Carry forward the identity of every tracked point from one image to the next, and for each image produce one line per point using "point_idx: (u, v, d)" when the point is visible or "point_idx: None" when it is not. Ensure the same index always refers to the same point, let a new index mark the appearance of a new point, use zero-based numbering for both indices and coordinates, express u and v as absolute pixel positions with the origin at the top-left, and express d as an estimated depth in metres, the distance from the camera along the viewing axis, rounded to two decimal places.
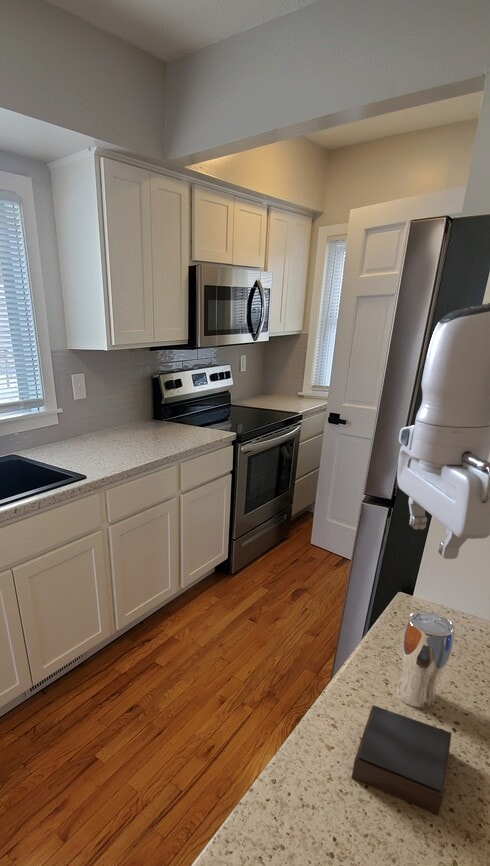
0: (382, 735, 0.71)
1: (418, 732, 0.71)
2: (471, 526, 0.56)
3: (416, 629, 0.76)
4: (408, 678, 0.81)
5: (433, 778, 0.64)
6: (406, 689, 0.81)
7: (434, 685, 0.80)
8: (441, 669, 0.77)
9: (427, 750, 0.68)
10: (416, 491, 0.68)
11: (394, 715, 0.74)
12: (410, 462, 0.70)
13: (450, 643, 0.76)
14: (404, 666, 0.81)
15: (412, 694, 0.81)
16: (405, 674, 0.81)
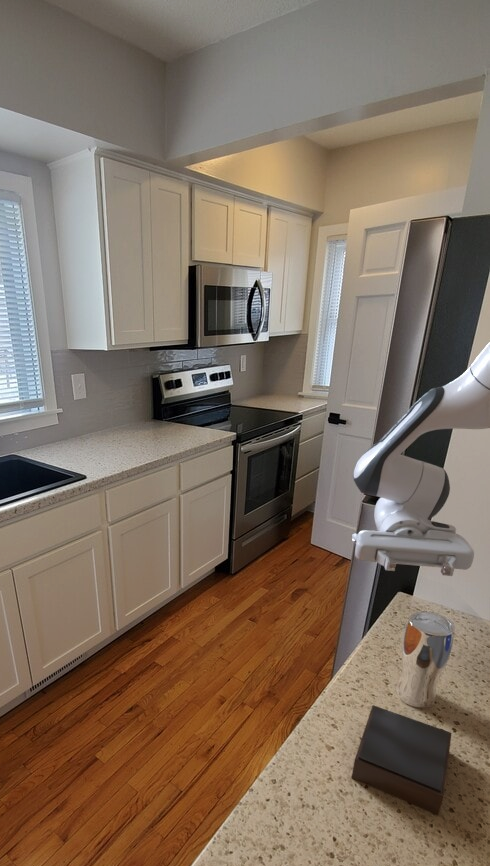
0: (382, 735, 0.71)
1: (418, 732, 0.71)
2: (355, 552, 0.95)
3: (416, 629, 0.76)
4: (408, 678, 0.81)
5: (433, 778, 0.64)
6: (406, 689, 0.81)
7: (434, 685, 0.80)
8: (441, 669, 0.77)
9: (427, 750, 0.68)
10: None
11: (394, 715, 0.74)
12: None
13: (450, 643, 0.76)
14: (404, 666, 0.81)
15: (412, 694, 0.81)
16: (405, 674, 0.81)
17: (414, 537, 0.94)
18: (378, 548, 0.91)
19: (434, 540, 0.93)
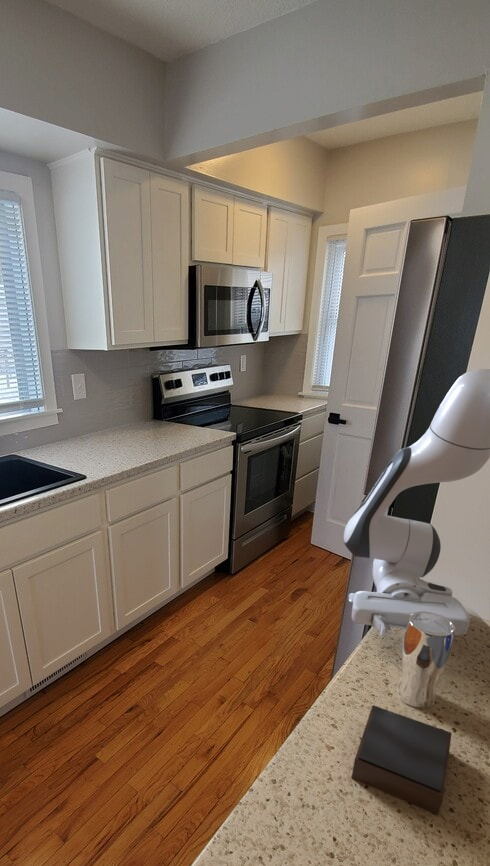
0: (382, 735, 0.71)
1: (418, 732, 0.71)
2: None
3: (416, 629, 0.76)
4: (408, 678, 0.81)
5: (433, 778, 0.64)
6: (406, 689, 0.81)
7: (434, 685, 0.80)
8: (441, 669, 0.77)
9: (427, 750, 0.68)
10: None
11: (394, 715, 0.74)
12: None
13: (450, 643, 0.76)
14: (404, 666, 0.81)
15: (412, 694, 0.81)
16: (405, 674, 0.81)
17: (410, 600, 0.95)
18: (374, 612, 0.92)
19: (431, 604, 0.94)
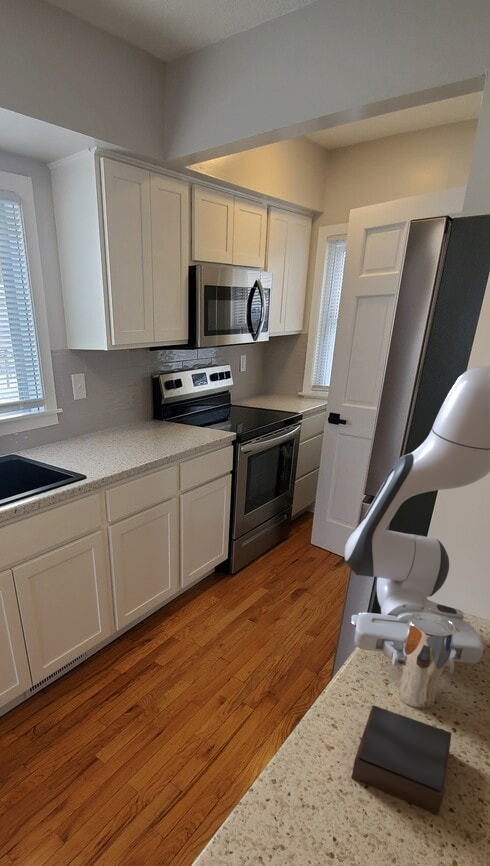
0: (382, 735, 0.71)
1: (418, 732, 0.71)
2: None
3: (416, 629, 0.76)
4: (408, 678, 0.81)
5: (433, 778, 0.64)
6: (406, 689, 0.81)
7: (434, 685, 0.80)
8: (441, 669, 0.77)
9: (427, 750, 0.68)
10: None
11: (394, 715, 0.74)
12: None
13: (450, 643, 0.75)
14: (404, 666, 0.81)
15: (412, 694, 0.81)
16: (405, 674, 0.81)
17: None
18: (379, 637, 0.85)
19: None
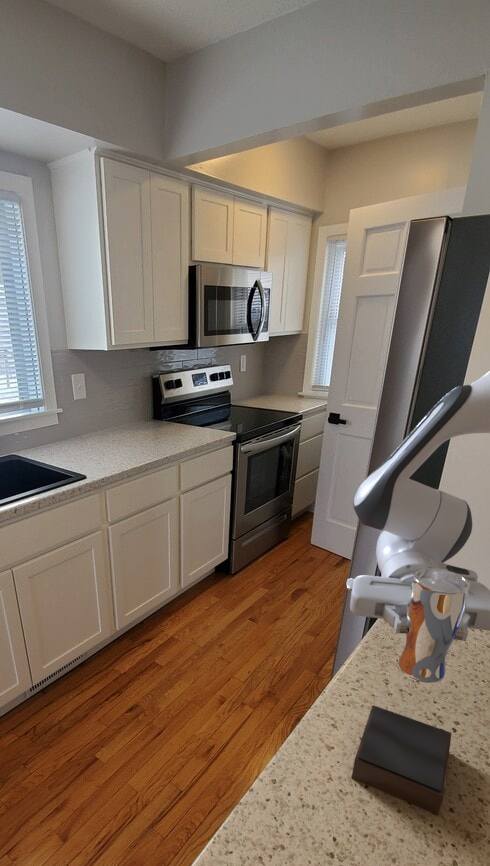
0: (382, 735, 0.71)
1: (418, 732, 0.71)
2: (350, 605, 0.76)
3: (423, 586, 0.64)
4: (412, 647, 0.68)
5: (433, 778, 0.64)
6: (410, 660, 0.69)
7: (444, 655, 0.67)
8: (452, 635, 0.65)
9: (427, 750, 0.68)
10: None
11: (394, 715, 0.74)
12: None
13: (464, 603, 0.63)
14: (408, 633, 0.68)
15: (417, 666, 0.68)
16: (409, 642, 0.68)
17: None
18: (378, 601, 0.72)
19: None
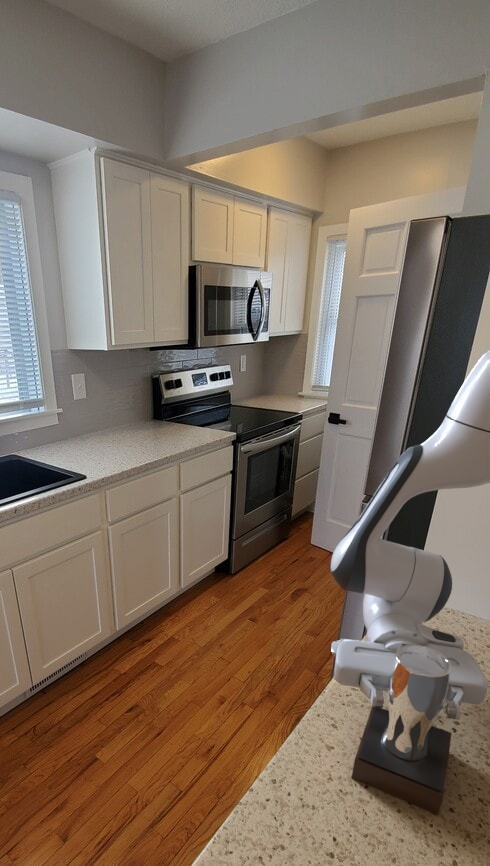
0: None
1: None
2: (334, 672, 0.74)
3: (404, 668, 0.62)
4: (394, 725, 0.67)
5: (433, 778, 0.64)
6: (393, 737, 0.67)
7: (426, 734, 0.66)
8: (434, 716, 0.64)
9: None
10: None
11: None
12: None
13: (445, 685, 0.62)
14: (390, 710, 0.67)
15: (400, 744, 0.67)
16: (391, 719, 0.67)
17: None
18: (362, 672, 0.71)
19: None
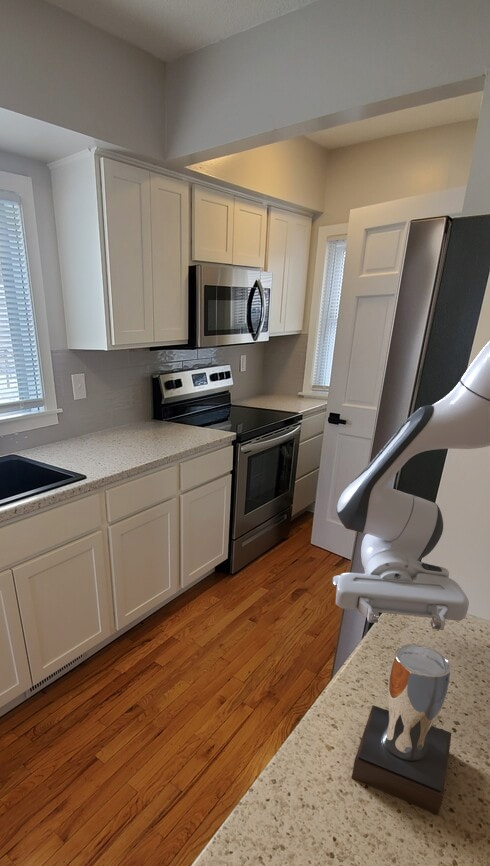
0: None
1: None
2: None
3: (404, 668, 0.62)
4: (394, 725, 0.67)
5: (433, 778, 0.64)
6: (393, 737, 0.67)
7: (426, 734, 0.66)
8: (434, 716, 0.64)
9: None
10: None
11: None
12: None
13: (445, 685, 0.62)
14: (390, 710, 0.67)
15: (400, 744, 0.67)
16: (391, 719, 0.67)
17: (402, 581, 0.84)
18: (360, 595, 0.81)
19: (425, 586, 0.83)
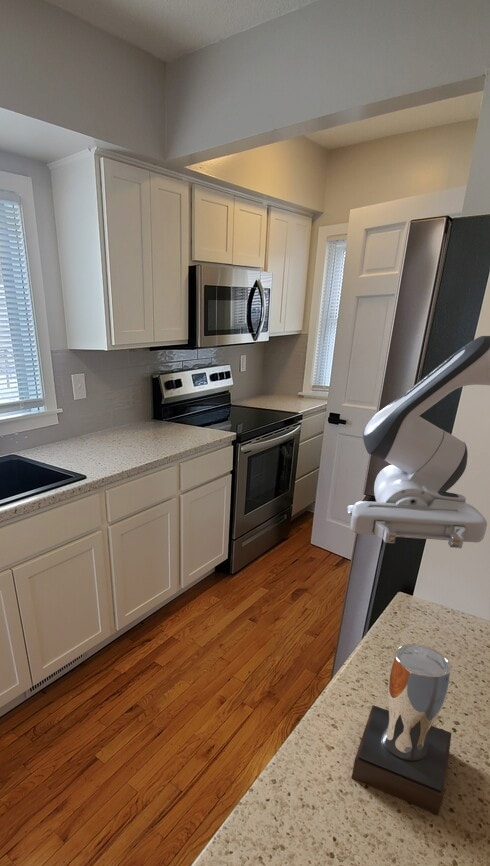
0: None
1: None
2: None
3: (404, 668, 0.62)
4: (394, 725, 0.67)
5: (433, 778, 0.64)
6: (392, 737, 0.67)
7: (426, 734, 0.66)
8: (434, 716, 0.64)
9: None
10: None
11: None
12: None
13: (445, 685, 0.62)
14: (390, 710, 0.67)
15: (400, 744, 0.67)
16: (391, 719, 0.67)
17: (418, 507, 0.83)
18: (376, 519, 0.80)
19: (441, 511, 0.82)
